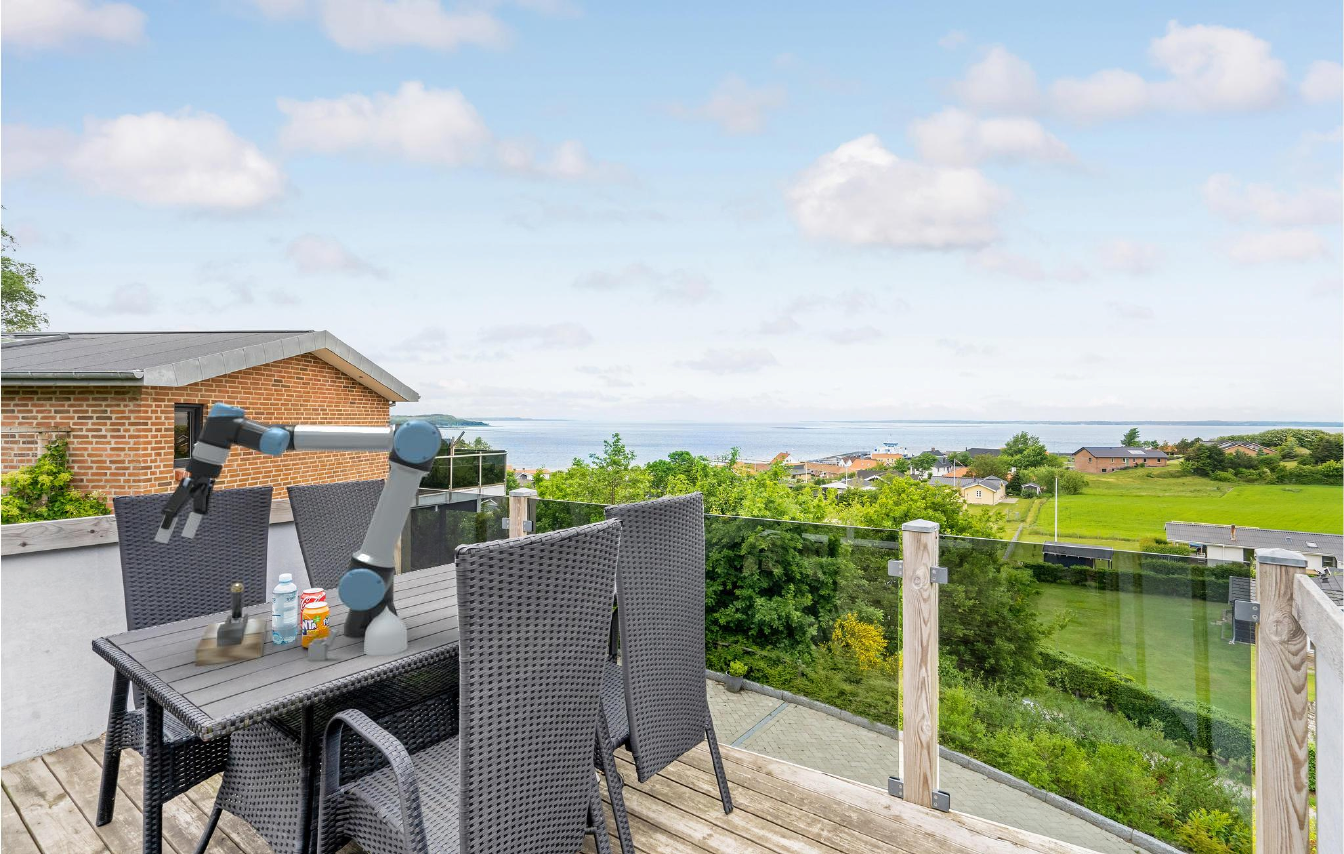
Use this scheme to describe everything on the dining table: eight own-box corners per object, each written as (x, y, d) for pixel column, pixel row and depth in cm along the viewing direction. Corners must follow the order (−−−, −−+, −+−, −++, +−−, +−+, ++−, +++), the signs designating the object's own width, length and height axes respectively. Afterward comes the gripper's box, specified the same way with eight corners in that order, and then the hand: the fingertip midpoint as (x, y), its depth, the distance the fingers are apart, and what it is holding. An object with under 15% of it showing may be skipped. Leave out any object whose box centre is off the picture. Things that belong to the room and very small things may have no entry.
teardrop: (379, 658, 172) (380, 613, 173) (354, 650, 178) (355, 606, 178) (416, 647, 182) (416, 603, 182) (391, 640, 188) (392, 598, 188)
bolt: (243, 621, 189) (244, 580, 189) (239, 632, 178) (240, 590, 178) (231, 622, 187) (231, 581, 187) (226, 634, 177) (227, 591, 177)
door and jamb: (266, 631, 194) (267, 603, 194) (260, 657, 172) (261, 626, 172) (208, 637, 187) (209, 609, 187) (195, 665, 165) (195, 633, 165)
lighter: (307, 660, 170) (308, 629, 170) (311, 658, 172) (311, 627, 172) (335, 660, 170) (336, 629, 171) (338, 658, 172) (339, 627, 172)
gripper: (213, 457, 184) (182, 531, 181) (168, 454, 160) (131, 539, 157) (241, 466, 186) (211, 539, 182) (201, 464, 161) (165, 548, 158)
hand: (174, 539), depth 170 cm, fingers open, 13 cm apart
